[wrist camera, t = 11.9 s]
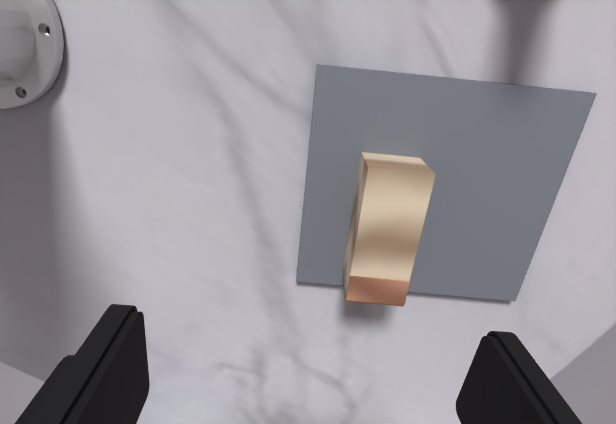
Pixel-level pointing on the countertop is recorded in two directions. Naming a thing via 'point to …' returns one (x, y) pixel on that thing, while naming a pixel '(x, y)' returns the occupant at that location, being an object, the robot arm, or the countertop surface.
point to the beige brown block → (385, 227)
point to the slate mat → (441, 172)
